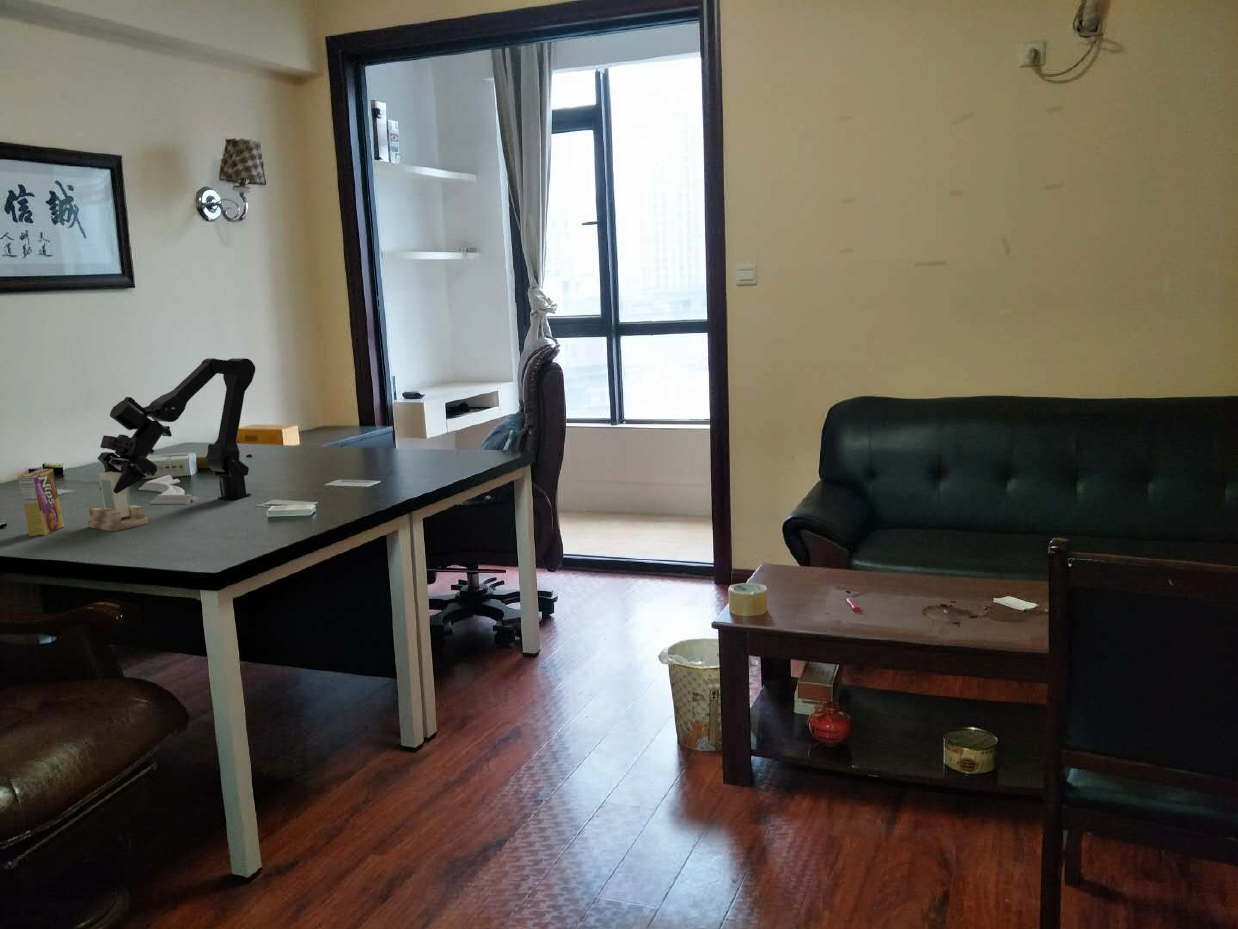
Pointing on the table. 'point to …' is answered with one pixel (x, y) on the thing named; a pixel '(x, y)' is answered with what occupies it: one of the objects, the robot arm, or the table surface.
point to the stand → (116, 518)
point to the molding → (168, 491)
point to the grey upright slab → (109, 497)
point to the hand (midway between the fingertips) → (108, 491)
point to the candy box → (41, 502)
